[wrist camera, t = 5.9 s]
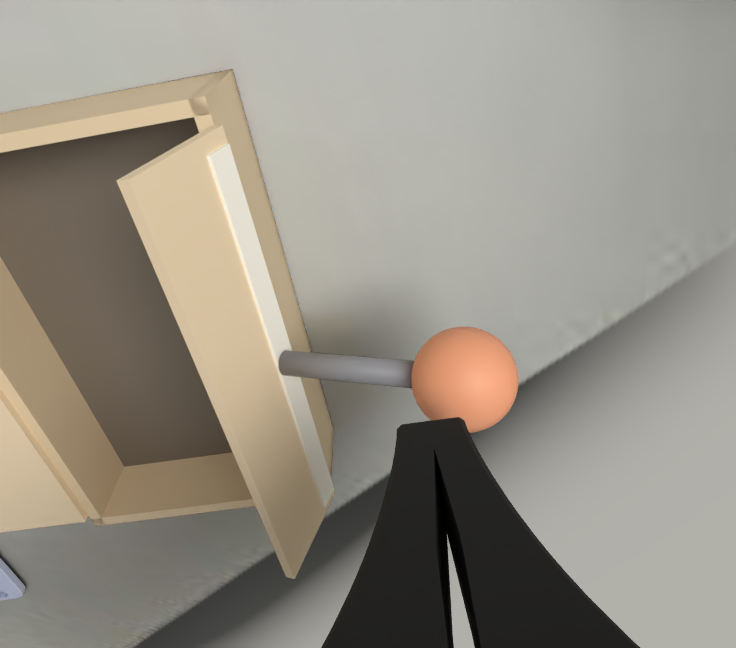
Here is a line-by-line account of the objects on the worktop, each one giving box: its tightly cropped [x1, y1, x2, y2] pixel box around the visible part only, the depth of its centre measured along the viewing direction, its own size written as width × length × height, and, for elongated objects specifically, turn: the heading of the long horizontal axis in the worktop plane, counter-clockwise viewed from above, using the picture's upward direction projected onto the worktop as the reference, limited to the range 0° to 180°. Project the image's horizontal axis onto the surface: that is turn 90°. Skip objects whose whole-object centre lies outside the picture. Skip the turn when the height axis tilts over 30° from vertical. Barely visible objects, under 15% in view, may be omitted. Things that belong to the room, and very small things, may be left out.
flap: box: [116, 125, 518, 579], centre depth 14 cm, size 4×13×7 cm
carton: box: [0, 69, 334, 532], centre depth 19 cm, size 13×14×4 cm
